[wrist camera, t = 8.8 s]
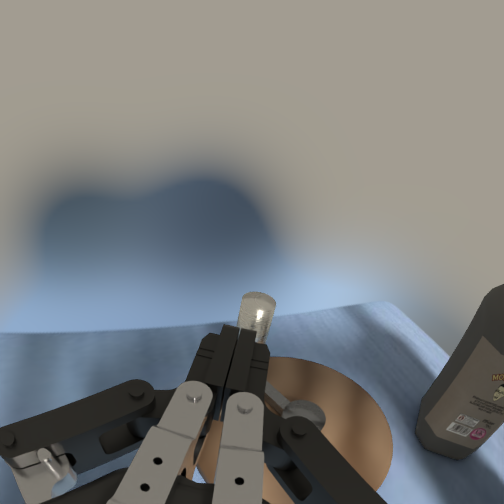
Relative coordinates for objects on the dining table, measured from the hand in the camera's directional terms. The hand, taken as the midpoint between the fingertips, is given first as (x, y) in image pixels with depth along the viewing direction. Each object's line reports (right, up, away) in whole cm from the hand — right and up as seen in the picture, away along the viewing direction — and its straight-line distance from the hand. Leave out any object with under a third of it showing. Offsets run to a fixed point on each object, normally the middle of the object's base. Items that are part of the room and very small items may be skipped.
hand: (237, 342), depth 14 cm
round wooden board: (+5, -14, +13) cm, 20 cm away
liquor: (+24, -17, +14) cm, 32 cm away
